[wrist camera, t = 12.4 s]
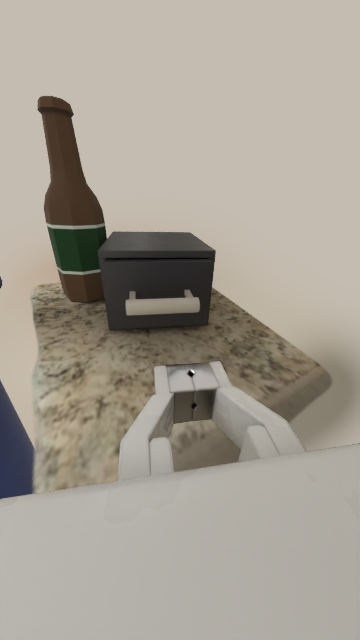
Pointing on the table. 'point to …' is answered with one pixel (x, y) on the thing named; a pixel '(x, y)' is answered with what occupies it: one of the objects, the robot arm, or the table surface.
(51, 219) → the beer bottle
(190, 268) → the drawer
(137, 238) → the cabinet
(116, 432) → the table surface
